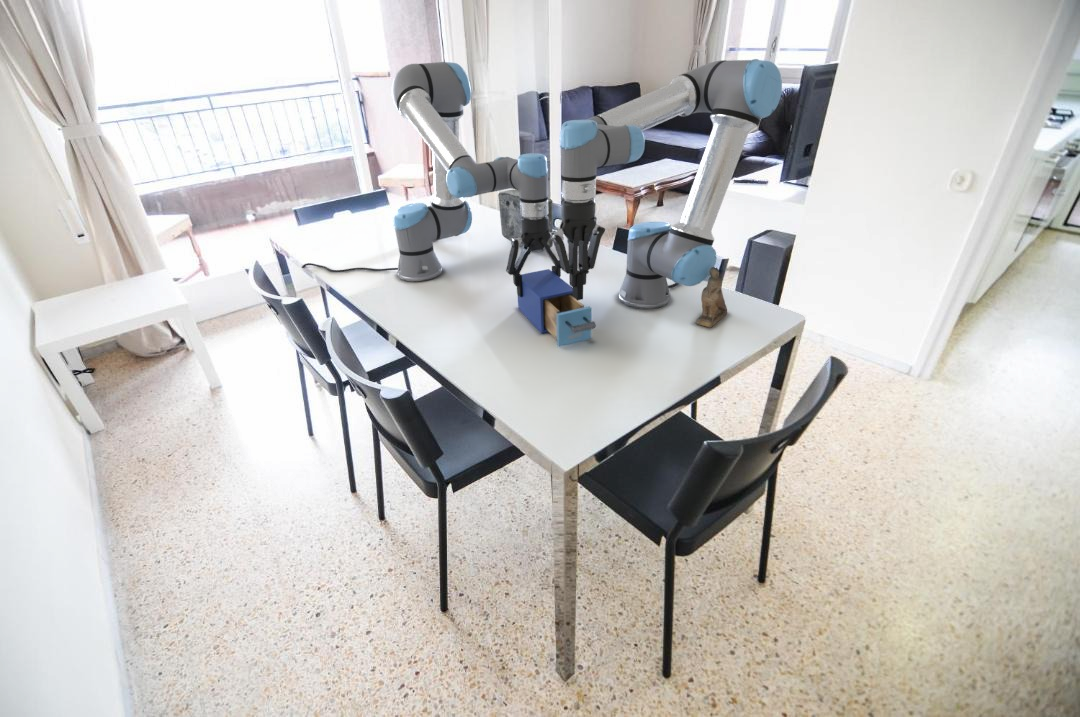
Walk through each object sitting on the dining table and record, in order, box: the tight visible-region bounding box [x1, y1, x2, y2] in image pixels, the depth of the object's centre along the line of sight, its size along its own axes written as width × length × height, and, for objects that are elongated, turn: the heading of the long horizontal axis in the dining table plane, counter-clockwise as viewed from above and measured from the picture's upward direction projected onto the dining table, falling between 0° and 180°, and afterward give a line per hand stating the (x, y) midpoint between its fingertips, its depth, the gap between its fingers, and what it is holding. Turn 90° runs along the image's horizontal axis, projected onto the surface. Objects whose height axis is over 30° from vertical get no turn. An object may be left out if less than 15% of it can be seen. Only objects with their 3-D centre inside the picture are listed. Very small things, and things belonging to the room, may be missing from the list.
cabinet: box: [516, 268, 573, 334], centre depth 141 cm, size 18×10×11 cm, turn 23°
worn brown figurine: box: [695, 266, 728, 328], centre depth 135 cm, size 12×6×18 cm, turn 136°
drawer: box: [543, 294, 597, 348], centre depth 131 cm, size 22×9×9 cm, turn 23°
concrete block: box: [497, 189, 554, 252], centre depth 191 cm, size 27×9×20 cm, turn 36°
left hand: (537, 291), depth 145 cm, fingers closed on cabinet, 10 cm apart
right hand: (577, 297), depth 121 cm, fingers closed
